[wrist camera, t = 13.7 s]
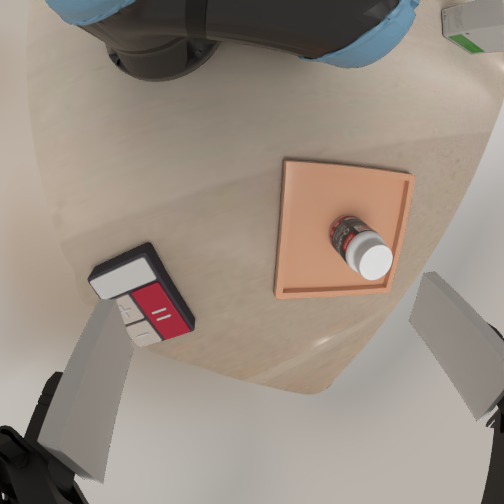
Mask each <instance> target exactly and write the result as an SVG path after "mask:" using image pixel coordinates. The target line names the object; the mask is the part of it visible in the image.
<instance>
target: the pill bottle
mask: <svg viewBox="0 0 504 504" xmlns="http://www.w3.org/2000/svg"><path fill="white" fill-rule="evenodd" d="M329 240H330V243H331V245H332V246H333V248H334V249H335V250H336V251H337V252H338V254H339V255H340V256H341V257H342V258H343V260H344V261H345V262H346V263H347V264H348V266H349V267H350V268H351V269H352V270H354V271H356V272H359V273H360V274H361V275H362V276H363V277H364V278H365V279H368V280H376V279H379V278H381V277H382V276H384V275H385V274H386V273H387V271H388V270H389V269H390V267H391V264H392V259H393V256H392V252H391V250H390V249H389V248H388V247H387V246H386V245H385V242H384V240H383V238H382V237H381V236H380V235H379V234H378V233H377V232H376V231H374V230H373V229H372V228H371V227H369V226H368V225H367V224H365V223H364V222H363V221H362V220H360V219H359V218H357V217H355V216H352V215H346V216H342V217H340V218H339V219H337V220H336V221H335V222H334V223H333V225H332V227H331V229H330V232H329Z"/></svg>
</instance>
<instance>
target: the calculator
mask: <svg viewBox="0 0 504 504" xmlns="http://www.w3.org/2000/svg"><path fill="white" fill-rule="evenodd" d="M88 282H89V284H90V285H91V286H92V288H93V289H94V291H95V292H96V293H97V295H98V296H99V298H100V299H116V300H117V303H118V306H119V309H120V312H121V315H122V318H123V321H124V324H125V326H126V329H127V332H128V335H129V336H130V338H131V339H132V340H133V341H134V342H135V344H136V345H137V346H138V347H144V346H147V345H150V344H154V343H157V342H160V341H163V340H166V339H170V338H173V337H176V336H179V335H182V334H185V333H188V332H191V331H194V328H195V318H194V316H193V314H192V313H191V311H190V309H189V308H188V306H187V305H186V303H185V301H184V300H183V298H182V296H181V295H180V293H179V292H178V290H177V288H176V287H175V285H174V284H173V282H172V280H171V279H170V277H169V275H168V274H167V272H166V270H165V268H164V266H163V264H162V262H161V260H160V258H159V257H158V255H157V253H156V251H155V249H154V247H153V246H152V244H151V243H150V242H147V243H145V244H143V245H141V246H138V247H136V248H134V249H132V250H130V251H128V252H125V253H123V254H121V255H119V256H117V257H115V258H113V259H111V260H109V261H106V262H104V263H102V264H100V265H98V266H96V267H95V268H94V269H93V271H92V272H91V274H90V276H89V277H88Z"/></svg>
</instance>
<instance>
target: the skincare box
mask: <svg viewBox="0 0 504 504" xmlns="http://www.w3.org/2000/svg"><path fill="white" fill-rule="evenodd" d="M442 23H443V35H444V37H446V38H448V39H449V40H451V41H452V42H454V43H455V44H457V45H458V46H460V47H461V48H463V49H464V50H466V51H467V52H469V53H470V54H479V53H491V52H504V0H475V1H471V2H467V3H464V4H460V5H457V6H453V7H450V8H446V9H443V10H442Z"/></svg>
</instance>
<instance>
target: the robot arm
mask: <svg viewBox="0 0 504 504" xmlns="http://www.w3.org/2000/svg"><path fill="white" fill-rule="evenodd" d="M419 1H420V0H46V3H47V4H48V5H49V7H50V8H51V9H52V10H54V11H55V12H56V13H57V14H58V15H60V16H61V18H62V20H64V21H65V22H67V23H69V24H70V25H71V24H73V25H76V26H78V27H80V28H81V29H83V30H85V31H86V32H88V33H90V34H92V35H93V36H95V37H96V38H98V39H100V40H101V41H103V42H105V44H106V48H107V52H108V54H109V56H110V58H111V60H112V61H113V63H114V64H115V65H116V66H117V67H118V68H119V69H120V70H122V71H123V72H125V73H127V74H128V75H130V76H132V77H135V78H137V79H140V80H145V81H156V82H157V81H167V80H172V79H176V78H179V77H182V76H184V75H186V74H188V73H190V72H192V71H194V70H196V69H197V68H199V67H200V66H201V65H202V64H204V63H205V62H206V61H207V60H208V59H209V58H210V57H211V56H212V54H213V53H214V52H215V50H216V49H217V47H218V45H219V43H220V41H227V42H234V43H240V44H246V45H252V46H257V47H262V48H267V49H272V50H276V51H281V52H285V53H289V54H293V55H297V56H298V57H299V58H300V59H303V60H306V61H317V62H323V63H327V64H330V65H334V66H337V67H341V68H358V67H364V66H367V65H369V64H372V63H374V62H376V61H377V60H379V59H381V58H382V57H384V56H385V55H386V54H388V53H389V52H390V51H391V50H392V49H393V48H394V47H395V46H396V45H397V44H398V43H399V42H400V41H401V40H402V39H403V37H404V36H405V34H406V33H407V32H408V30H409V28H410V27H411V25H412V23H413V21H414V18H415V16H416V14H415V12H414V11H413V10H414V8H416V7H417V6H418V5H419ZM409 322H410V323H411V325H412V326H413V327H414V329H415V330H416V331H417V333H418V334H419V335H420V337H421V338H422V339H423V341H424V342H425V344H426V345H427V346H428V348H429V349H430V351H431V352H432V353H433V355H434V356H435V358H436V359H437V361H438V362H439V364H440V365H441V366H442V368H443V369H444V371H445V372H446V374H447V375H448V377H449V378H450V380H451V381H452V383H453V384H454V386H455V387H456V389H457V390H458V392H459V393H460V395H461V397H462V398H463V400H464V401H465V403H466V405H467V406H468V408H469V410H470V411H471V413H472V414H473V416H474V418H475V419H476V421H479V420H480V419H482V418H484V417H485V416H487V415H489V413H490V412H491V411H492V410H493V409H494V408H495V406H496V405H497V406H498V408H499V409H498V410H497V411H496V412H495V413H494V415H493V416H492V417H491V418H490V419H489V420H488V422H487V424H486V427H488V426H489V425H490V424H491V423H492V422H493V421H494V420H495V422H494V423H493V424H492V425H491V428H494V436H493V445H492V453H491V459H490V466H489V471H488V476H487V481H486V485H485V490H484V494H483V499H482V502H481V504H504V338H503V336H502V335H501V334H500V333H499V331H498V330H497V329H496V328H494V327H493V326H491V325H490V324H488V323H487V322H486V321H485V320H484V319H483V318H482V317H481V316H480V315H479V314H478V313H477V312H476V311H475V310H474V309H473V308H472V307H471V306H470V305H469V304H468V303H467V302H466V301H465V300H464V299H463V298H462V297H461V296H460V295H459V294H458V293H457V292H456V291H455V290H454V289H453V288H452V287H451V286H450V285H449V284H448V283H447V282H446V281H445V280H444V279H442V278H441V277H440V276H439V275H438V274H437V273H436V272H428V273H423V276H422V280H421V283H420V287H419V290H418V293H417V297H416V300H415V303H414V306H413V309H412V312H411V315H410V318H409ZM133 350H134V348H133V345H132V343H131V340H130V337H129V335H128V332H127V329H126V326H125V324H124V321H123V318H122V315H121V312H120V309H119V306H118V303H117V300H116V299H100V300H99V302H98V304H97V305H96V307H95V309H94V311H93V313H92V315H91V317H90V319H89V321H88V323H87V324H86V326H85V328H84V330H83V333H82V334H81V336H80V338H79V340H78V342H77V345H76V347H75V349H74V351H73V353H72V355H71V357H70V359H69V362H68V364H67V366H66V368H65V370H64V373H63V372H55V373H54V374H53V375H52V376H51V377H50V378H49V379H48V380H47V382H46V384H45V387H44V389H43V391H42V395H40V398H39V400H38V405H36V407H35V410H34V412H33V415H32V418H31V420H30V423H29V426H28V428H27V431H26V433H25V436H24V438H23V437H22V436H21V435H19V433H18V432H17V431H16V430H14V429H13V428H12V427H10V426H6V425H5V426H1V427H0V504H89V503H88V502H87V500H86V498H85V497H84V495H83V493H82V491H81V490H80V488H79V486H78V484H77V483H76V482H75V481H74V476H75V474H77V475H78V476H80V477H81V478H82V479H84V480H88V481H92V482H96V483H100V484H103V482H104V476H105V470H106V464H107V458H108V453H109V448H110V443H111V438H112V434H113V429H114V424H115V419H116V415H117V411H118V407H119V403H120V398H121V394H122V390H123V387H124V383H125V379H126V375H127V372H128V368H129V364H130V361H131V357H132V354H133ZM2 493H4V495H5V498H4V500H3V499H2Z"/></svg>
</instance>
